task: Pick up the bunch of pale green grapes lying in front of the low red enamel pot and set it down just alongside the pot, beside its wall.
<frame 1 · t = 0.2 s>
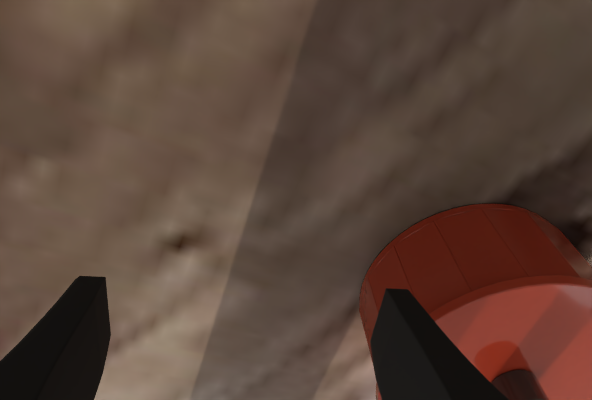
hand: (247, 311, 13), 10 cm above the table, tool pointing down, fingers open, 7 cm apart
pot lid: (506, 374, 23), point 5 cm above the table, touching pot
pot: (462, 290, 28), on the table
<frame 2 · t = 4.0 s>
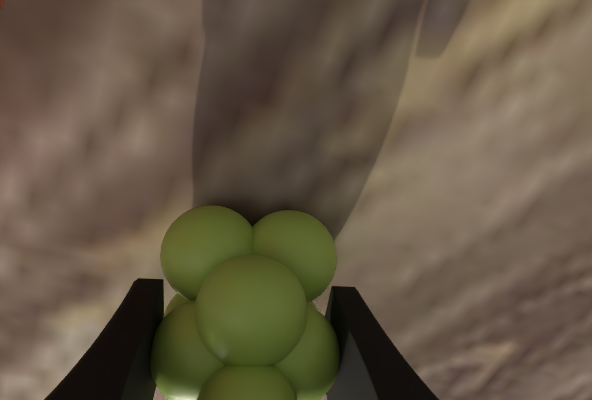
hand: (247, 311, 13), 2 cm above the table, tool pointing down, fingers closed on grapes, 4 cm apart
grapes: (246, 263, 15), on the table, touching gripper
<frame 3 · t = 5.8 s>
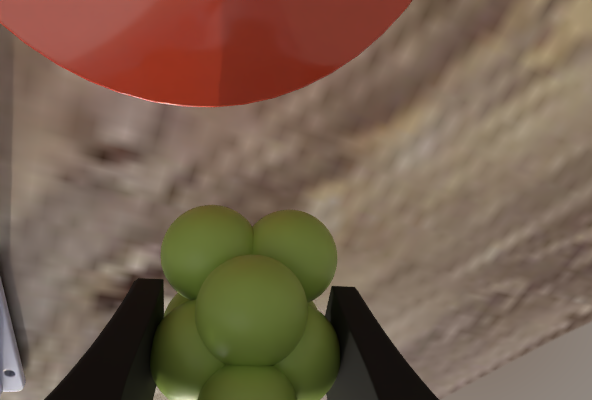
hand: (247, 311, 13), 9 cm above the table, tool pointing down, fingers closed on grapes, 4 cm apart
grapes: (246, 263, 15), point 7 cm above the table, touching gripper
when the fingers open (2 cm above the table, at t = 8.1 s): grapes stays where it is, on the table.
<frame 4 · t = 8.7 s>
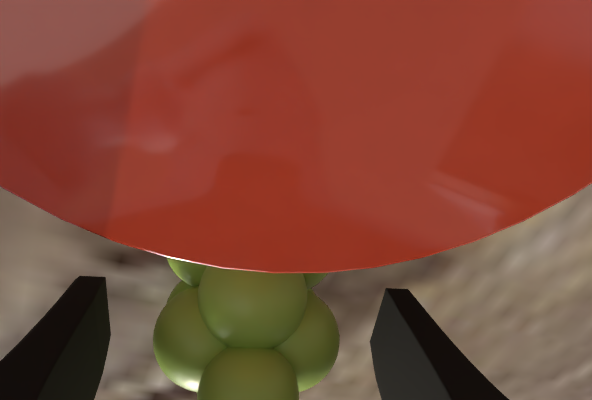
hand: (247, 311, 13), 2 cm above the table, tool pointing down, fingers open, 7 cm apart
grapes: (247, 252, 15), on the table
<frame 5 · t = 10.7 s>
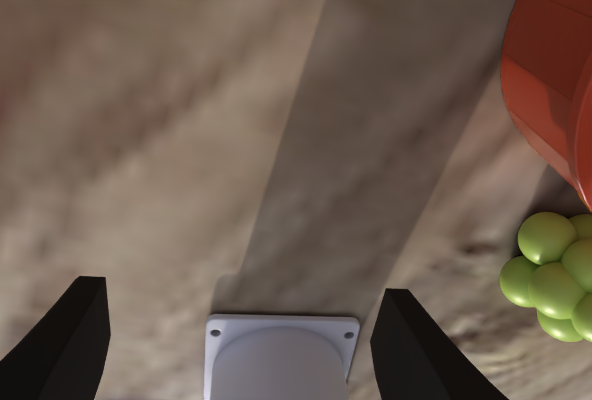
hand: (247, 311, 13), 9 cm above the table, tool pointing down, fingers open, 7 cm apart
grapes: (543, 245, 25), on the table
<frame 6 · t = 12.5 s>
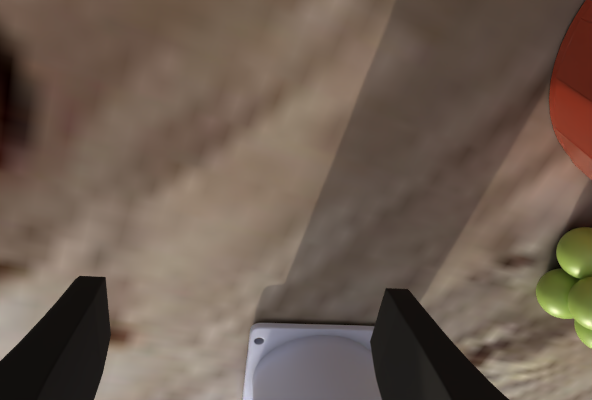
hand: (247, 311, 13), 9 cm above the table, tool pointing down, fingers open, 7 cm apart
grapes: (578, 258, 26), on the table
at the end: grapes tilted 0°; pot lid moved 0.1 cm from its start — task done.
